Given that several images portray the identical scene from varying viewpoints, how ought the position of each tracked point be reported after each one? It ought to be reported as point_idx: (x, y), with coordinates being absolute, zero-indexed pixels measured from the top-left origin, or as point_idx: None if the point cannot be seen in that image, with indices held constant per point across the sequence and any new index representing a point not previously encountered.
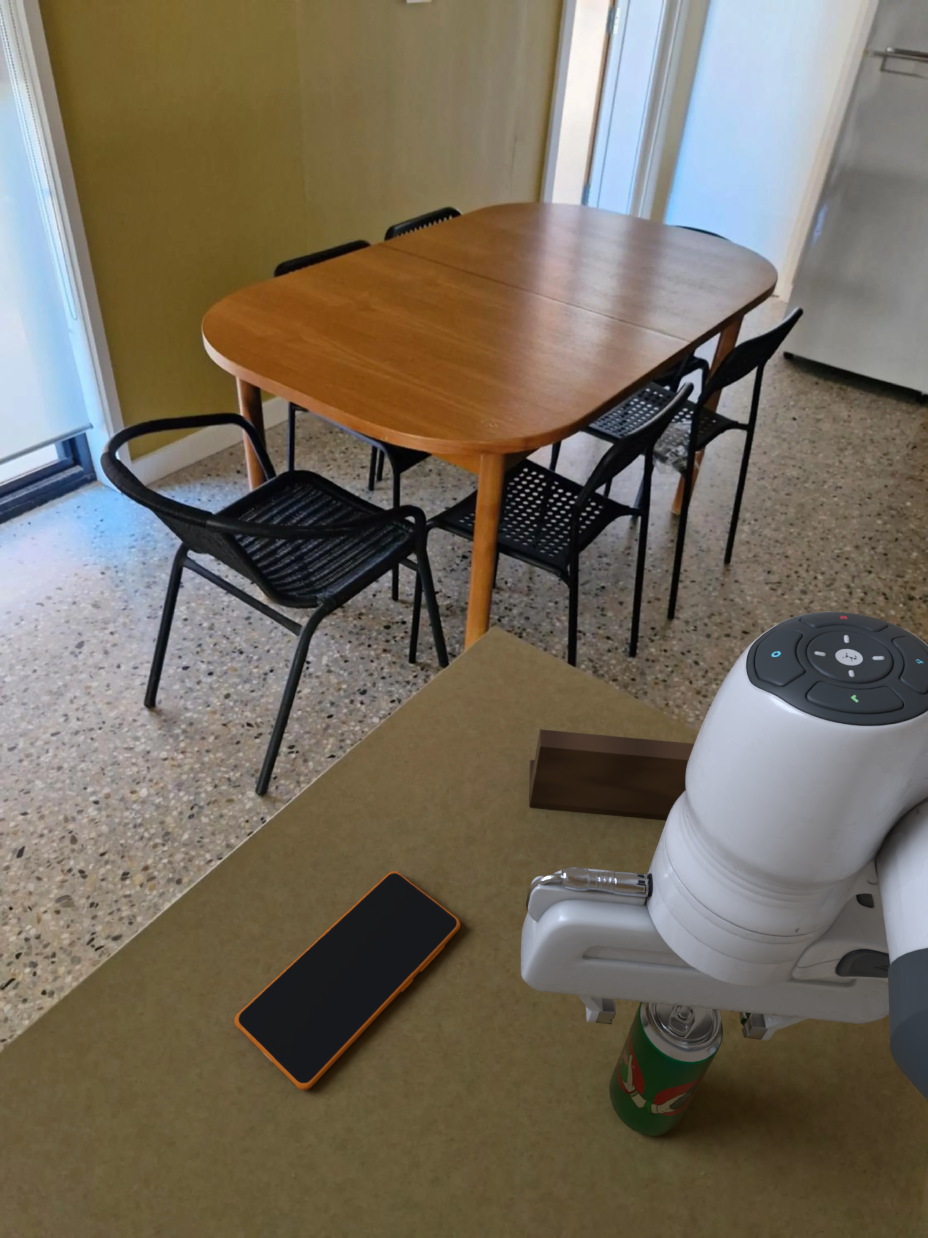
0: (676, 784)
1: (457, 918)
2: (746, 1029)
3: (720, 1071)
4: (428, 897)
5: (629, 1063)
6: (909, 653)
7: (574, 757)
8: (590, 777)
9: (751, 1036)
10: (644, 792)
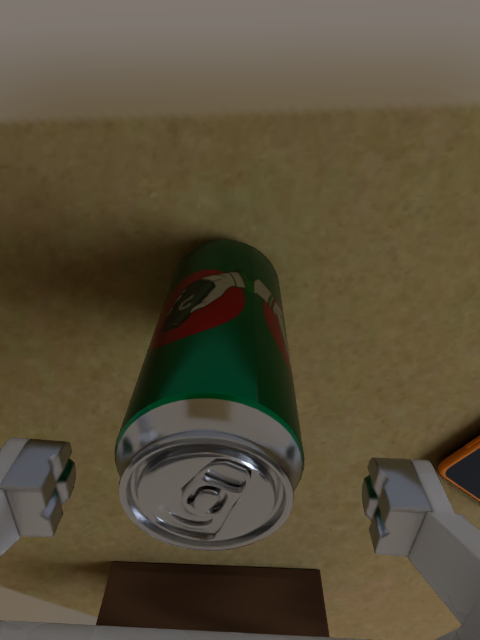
0: None
1: (442, 476)
2: (58, 464)
3: (116, 321)
4: (474, 495)
5: (288, 353)
6: None
7: None
8: None
9: (47, 451)
10: (190, 613)
